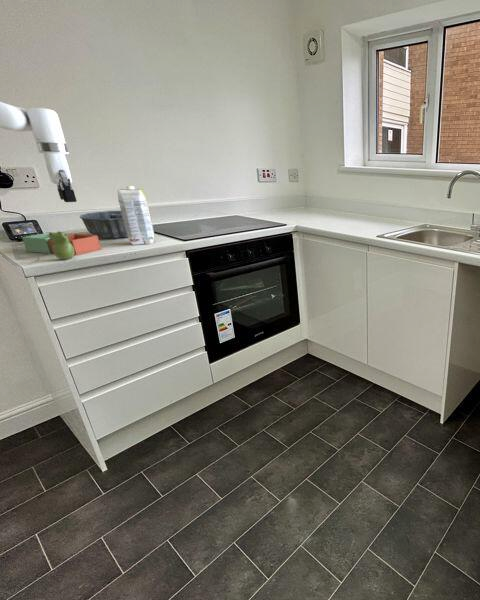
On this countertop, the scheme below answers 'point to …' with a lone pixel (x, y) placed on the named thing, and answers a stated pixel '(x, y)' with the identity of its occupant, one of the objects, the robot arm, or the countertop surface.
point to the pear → (62, 246)
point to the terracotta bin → (82, 243)
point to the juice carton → (136, 215)
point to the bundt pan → (105, 224)
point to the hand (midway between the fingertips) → (68, 200)
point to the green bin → (39, 243)
